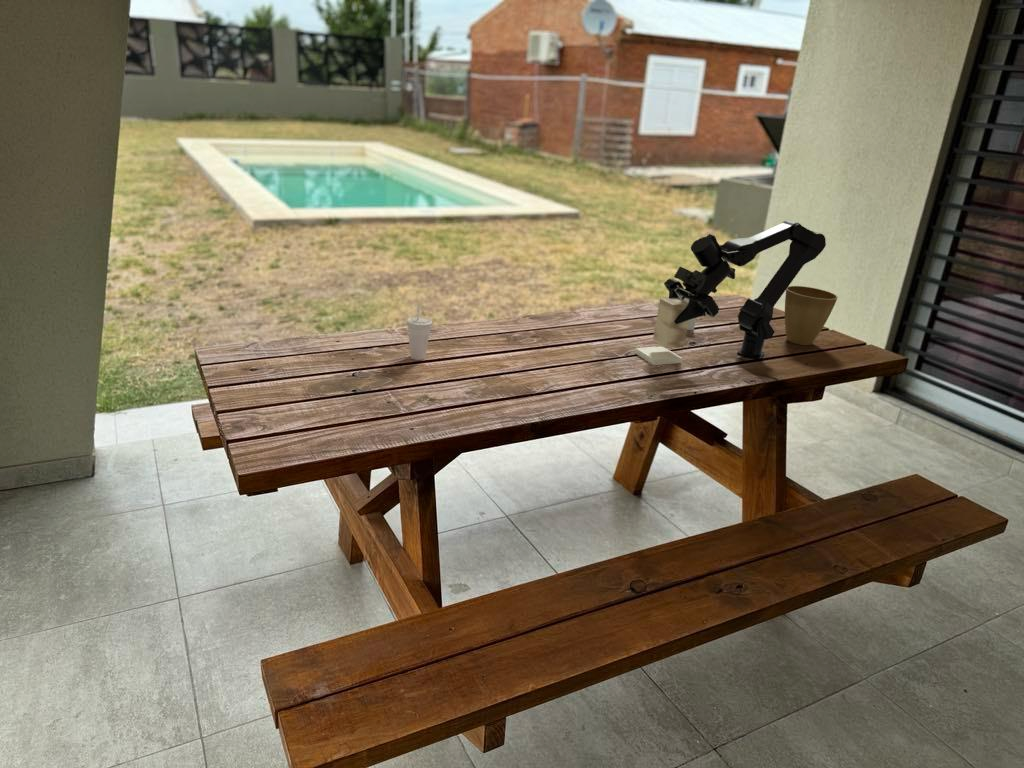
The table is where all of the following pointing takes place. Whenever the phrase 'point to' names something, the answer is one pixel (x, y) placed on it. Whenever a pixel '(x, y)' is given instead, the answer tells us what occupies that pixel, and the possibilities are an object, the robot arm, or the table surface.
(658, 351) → the top slab
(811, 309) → the plant pot
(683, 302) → the beige rectangular block
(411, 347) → the smoothie
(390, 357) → the table surface
